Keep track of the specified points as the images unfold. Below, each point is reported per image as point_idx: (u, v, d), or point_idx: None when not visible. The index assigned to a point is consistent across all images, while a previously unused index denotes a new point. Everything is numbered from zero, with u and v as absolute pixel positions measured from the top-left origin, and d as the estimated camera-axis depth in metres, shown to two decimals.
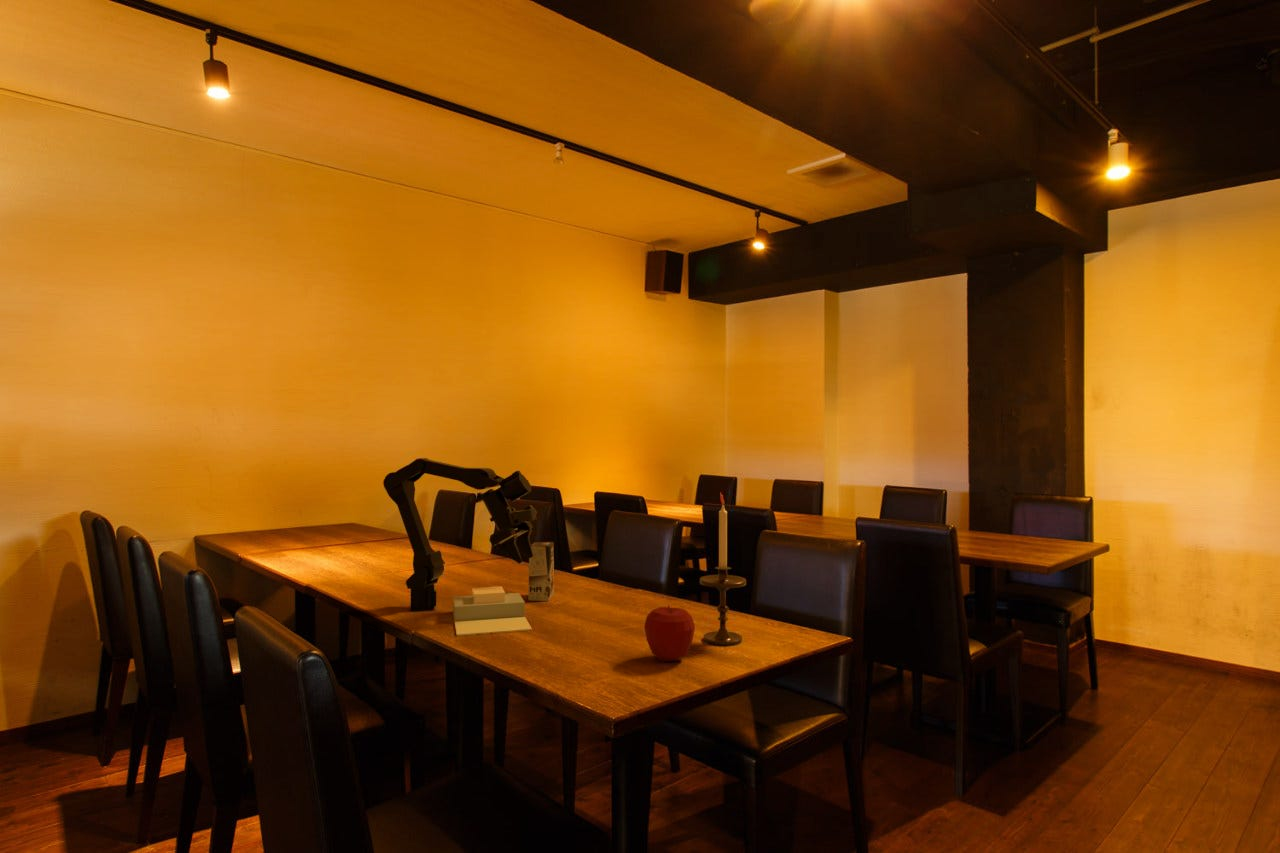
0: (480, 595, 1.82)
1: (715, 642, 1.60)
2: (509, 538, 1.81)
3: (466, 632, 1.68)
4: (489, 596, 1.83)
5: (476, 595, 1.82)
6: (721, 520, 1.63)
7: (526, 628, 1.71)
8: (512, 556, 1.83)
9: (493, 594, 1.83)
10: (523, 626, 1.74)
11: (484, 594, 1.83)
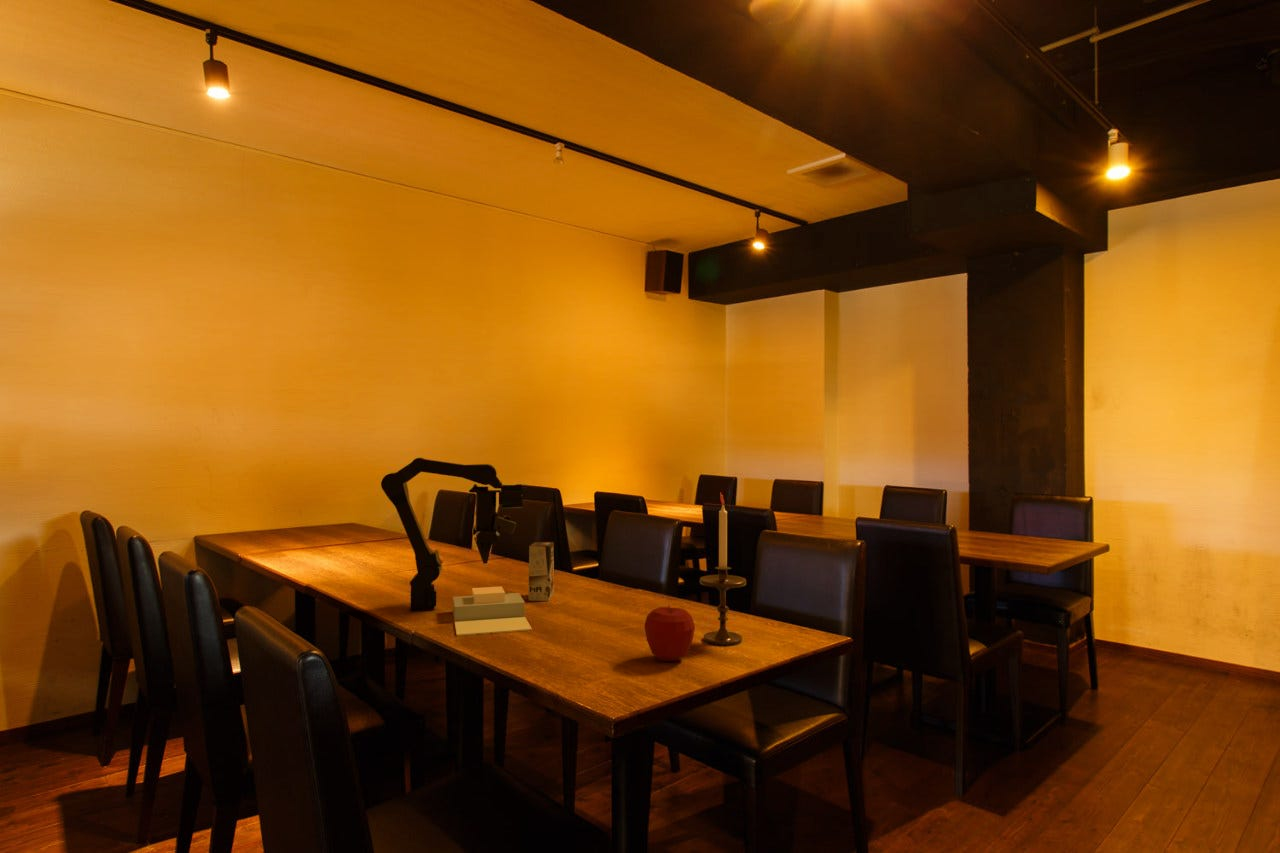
0: (480, 595, 1.82)
1: (715, 642, 1.60)
2: None
3: (466, 632, 1.68)
4: (489, 596, 1.83)
5: (476, 595, 1.82)
6: (722, 520, 1.63)
7: (526, 628, 1.71)
8: (483, 555, 1.95)
9: (493, 594, 1.83)
10: (523, 626, 1.74)
11: (484, 594, 1.83)
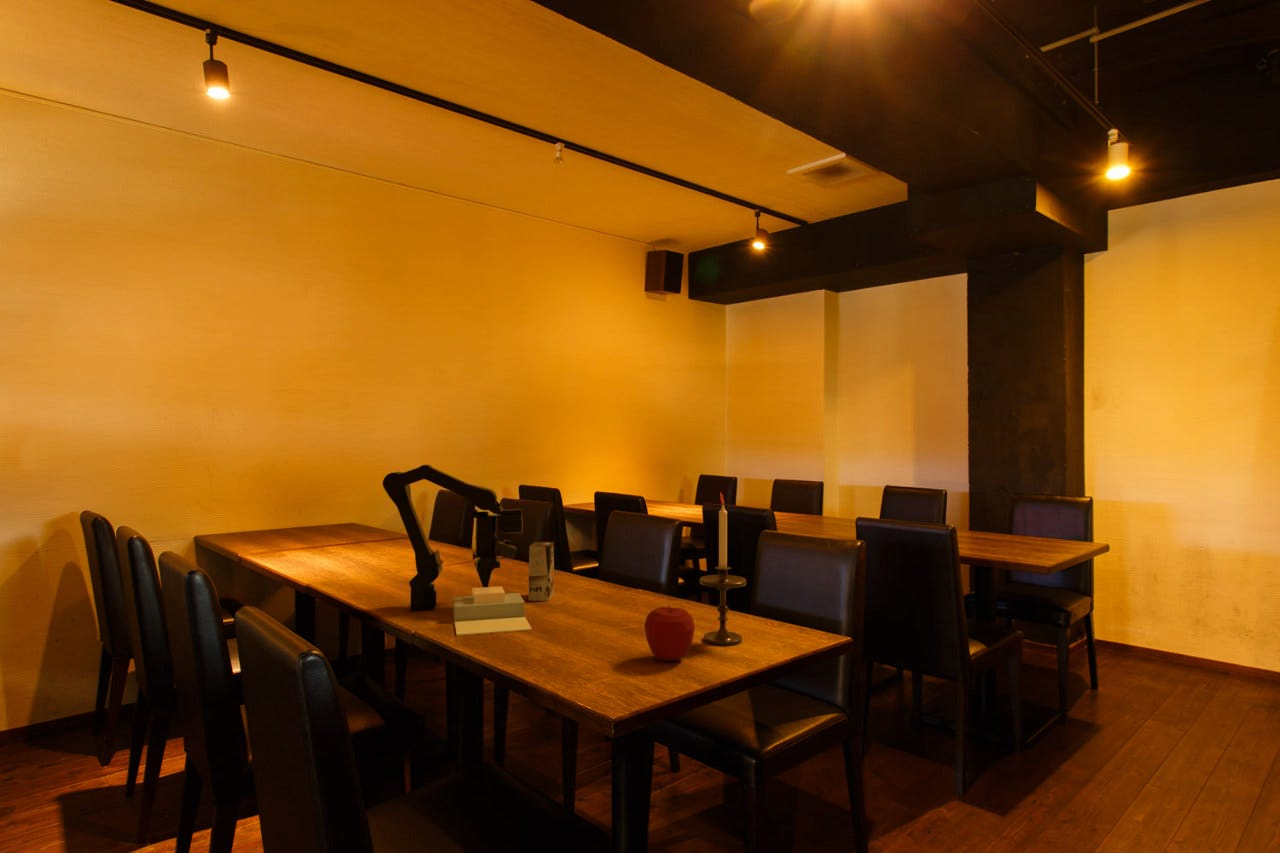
0: (480, 595, 1.82)
1: (715, 642, 1.60)
2: None
3: (466, 632, 1.68)
4: (489, 596, 1.83)
5: (476, 595, 1.82)
6: (722, 520, 1.63)
7: (526, 628, 1.71)
8: (483, 580, 1.94)
9: (493, 594, 1.83)
10: (523, 626, 1.74)
11: (484, 594, 1.83)
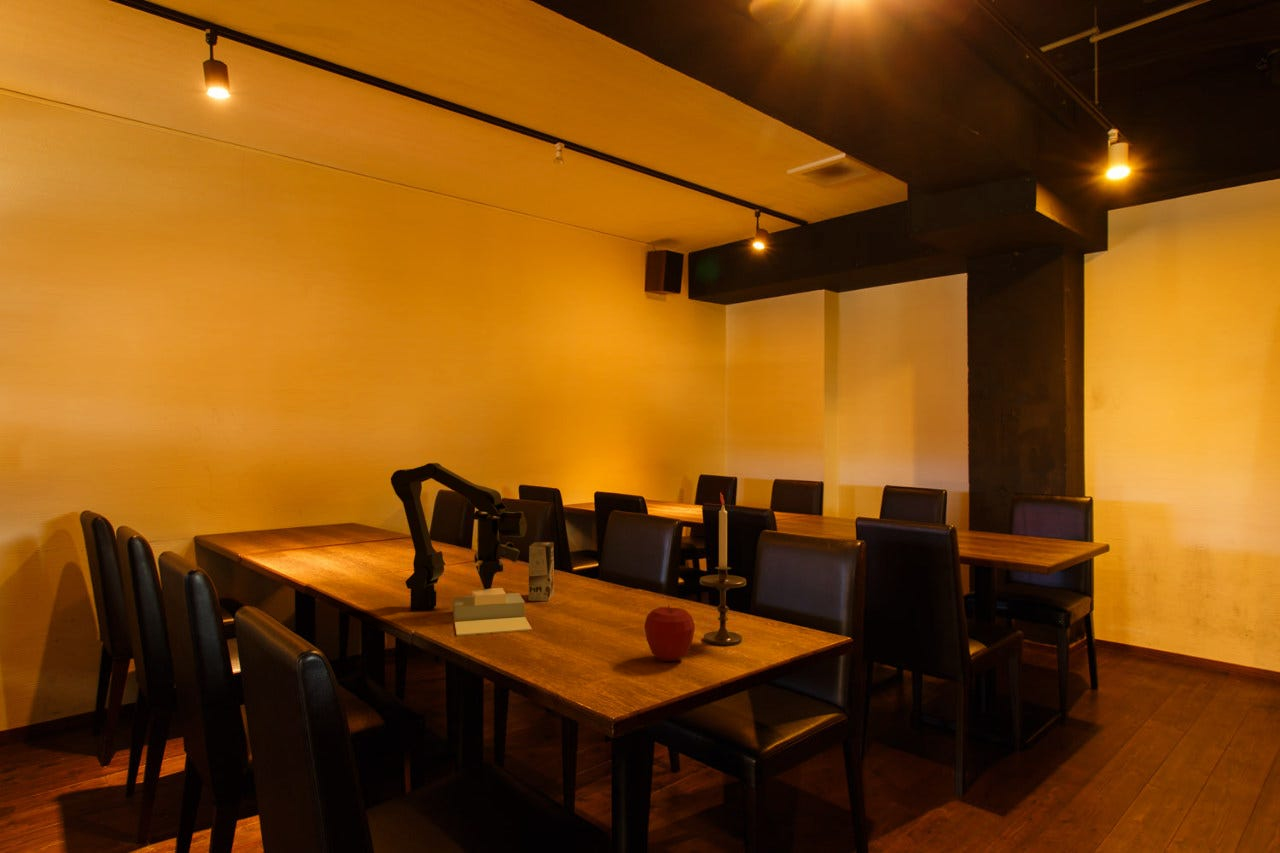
0: (481, 596, 1.80)
1: (715, 642, 1.60)
2: None
3: (466, 632, 1.68)
4: (489, 598, 1.81)
5: (477, 597, 1.80)
6: (722, 520, 1.63)
7: (526, 628, 1.71)
8: (485, 584, 1.88)
9: (494, 595, 1.81)
10: (523, 626, 1.74)
11: (485, 595, 1.81)
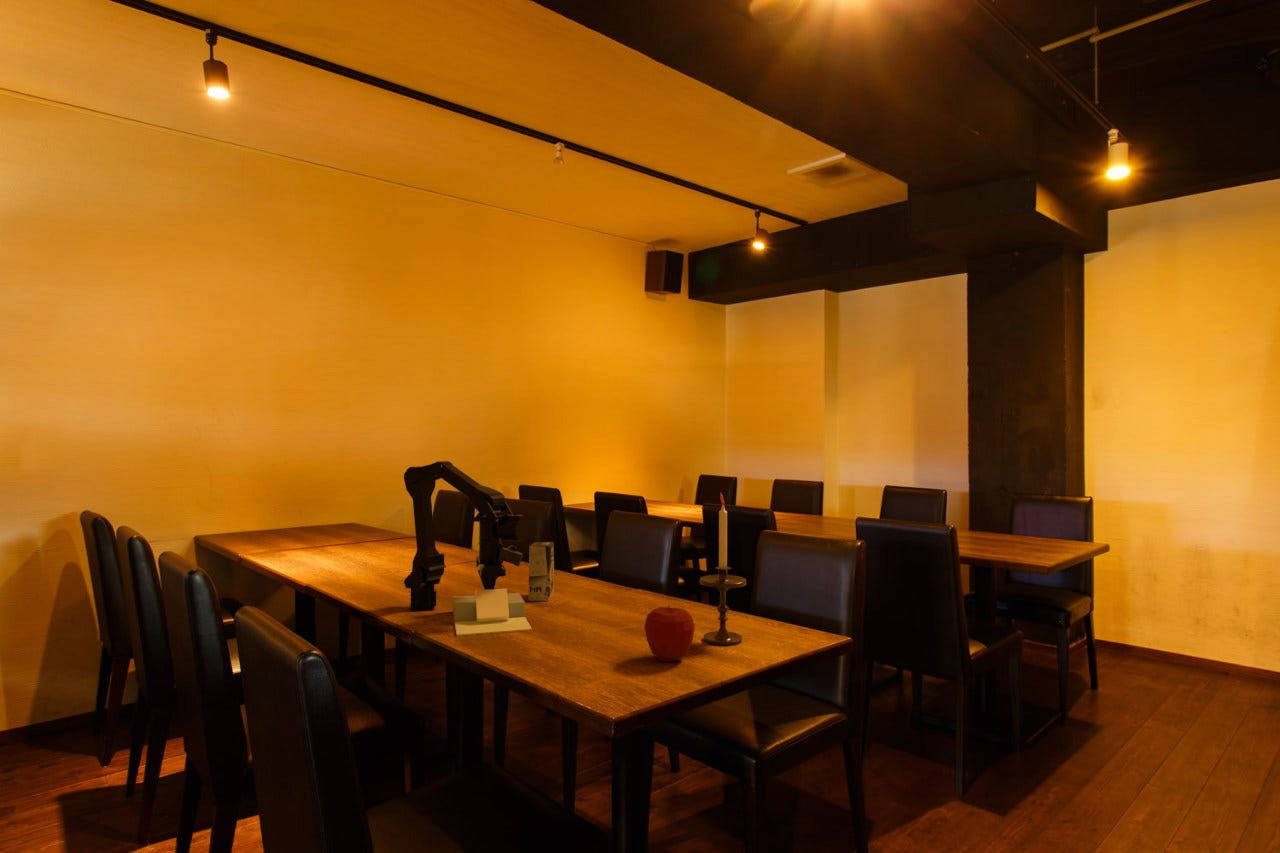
0: (483, 618, 1.75)
1: (715, 642, 1.60)
2: None
3: (466, 632, 1.68)
4: (492, 618, 1.76)
5: (479, 618, 1.75)
6: (722, 520, 1.63)
7: (526, 628, 1.71)
8: (487, 589, 1.82)
9: (497, 617, 1.76)
10: (523, 626, 1.74)
11: (487, 617, 1.76)
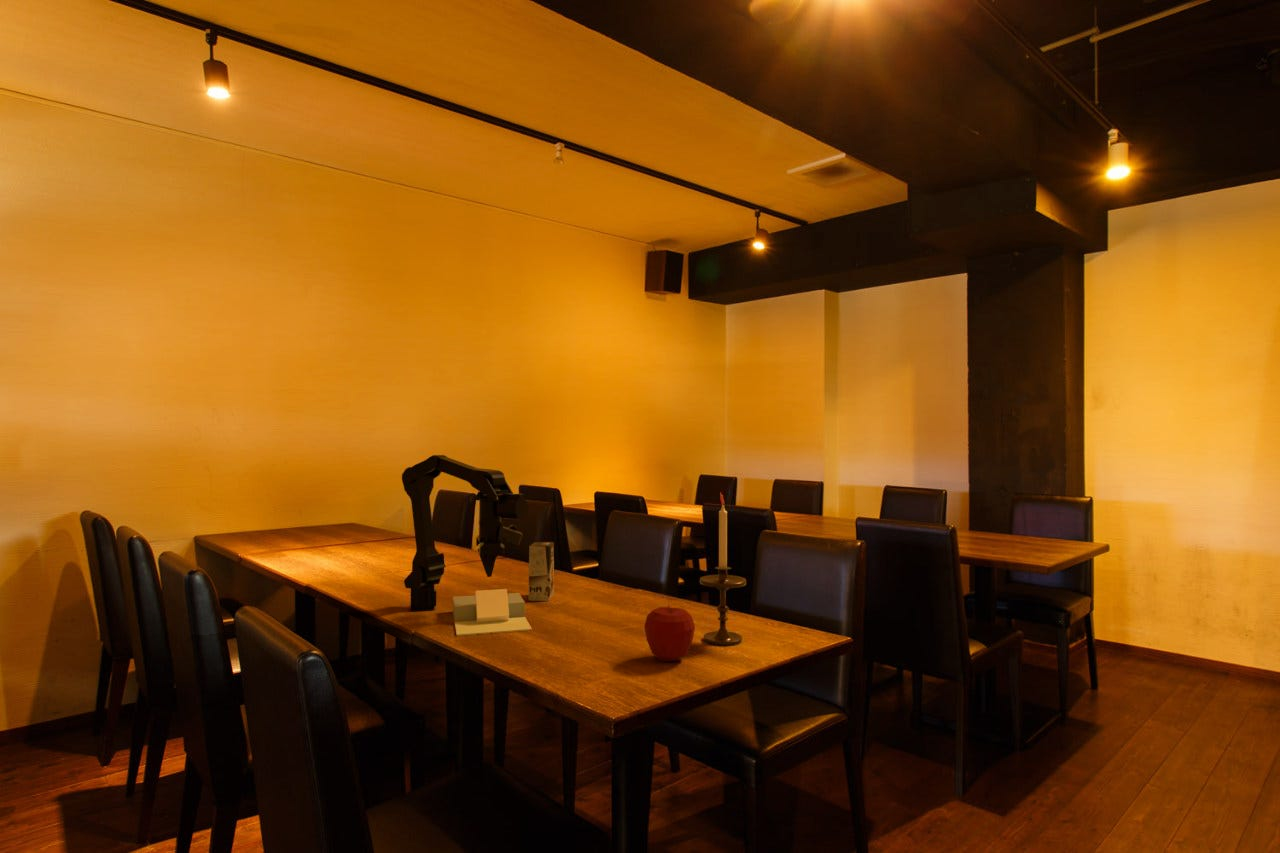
0: (483, 618, 1.75)
1: (715, 642, 1.60)
2: None
3: (466, 632, 1.68)
4: (492, 618, 1.76)
5: (479, 618, 1.75)
6: (721, 520, 1.63)
7: (526, 628, 1.71)
8: (487, 568, 1.82)
9: (497, 617, 1.76)
10: (523, 626, 1.74)
11: (487, 617, 1.76)
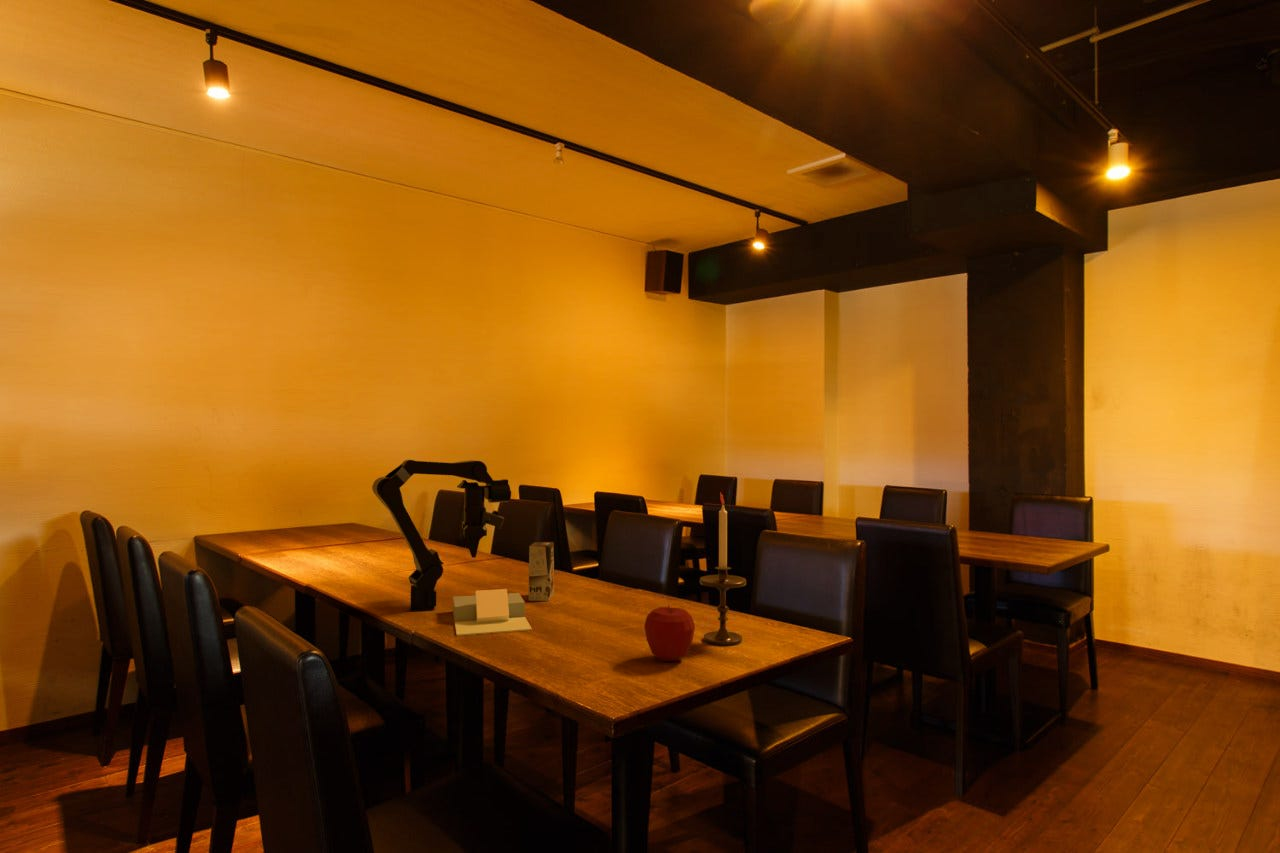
0: (483, 618, 1.75)
1: (715, 642, 1.60)
2: None
3: (466, 632, 1.68)
4: (492, 618, 1.76)
5: (479, 618, 1.75)
6: (722, 520, 1.63)
7: (526, 628, 1.71)
8: (471, 549, 2.00)
9: (497, 617, 1.76)
10: (523, 626, 1.74)
11: (487, 617, 1.76)
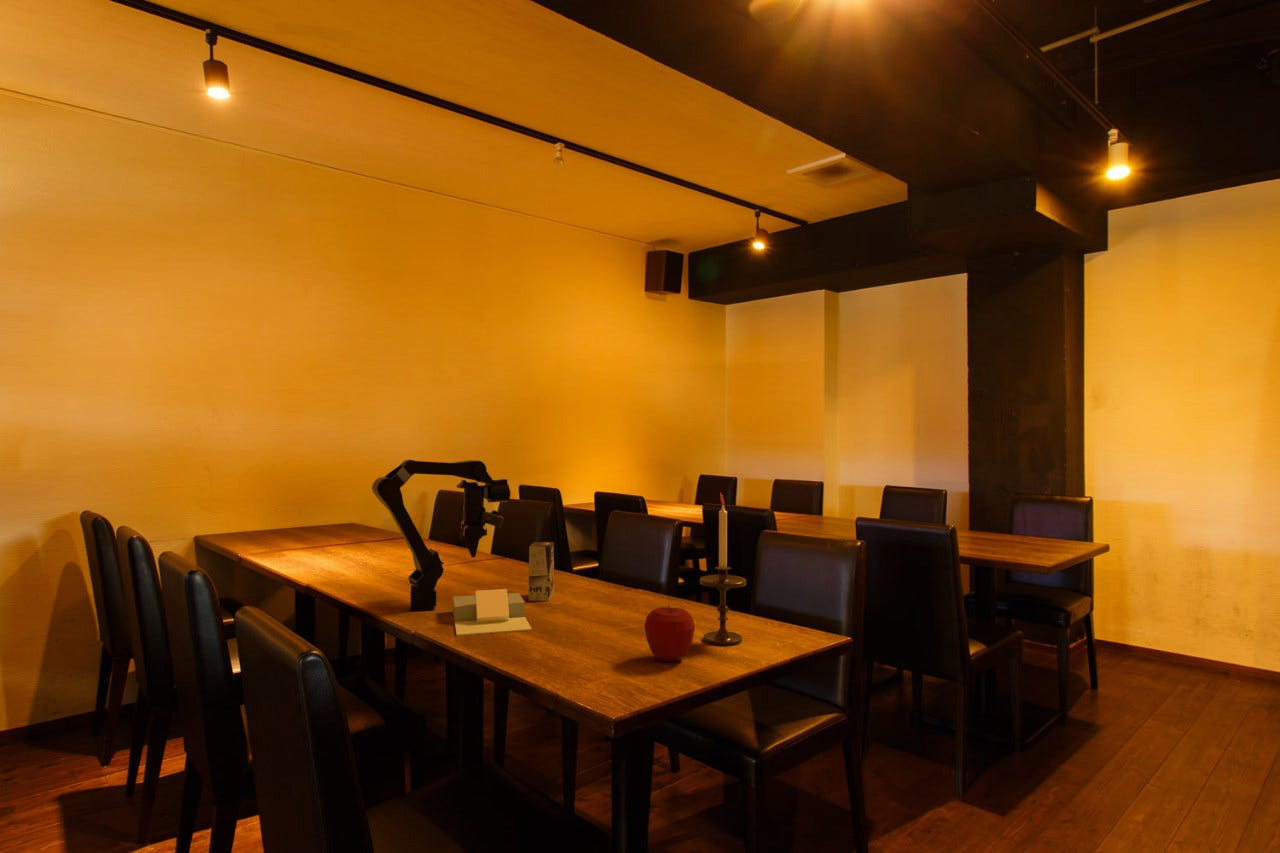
0: (483, 618, 1.75)
1: (715, 642, 1.60)
2: None
3: (466, 632, 1.68)
4: (492, 618, 1.76)
5: (479, 618, 1.75)
6: (722, 520, 1.63)
7: (526, 628, 1.71)
8: (471, 549, 2.00)
9: (497, 617, 1.76)
10: (523, 626, 1.74)
11: (487, 617, 1.76)
